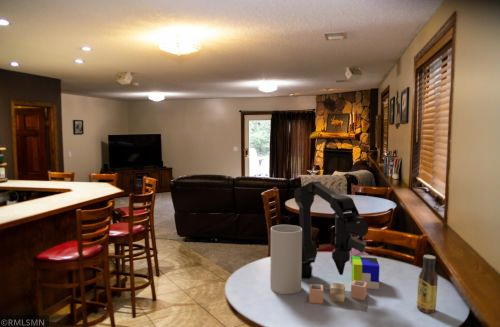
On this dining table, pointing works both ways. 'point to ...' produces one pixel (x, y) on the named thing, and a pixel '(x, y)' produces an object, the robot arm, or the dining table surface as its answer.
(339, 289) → the plain block
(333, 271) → the dining table surface
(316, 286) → the labelled block left
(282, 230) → the cylinder vase
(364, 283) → the labelled block right
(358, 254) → the lily
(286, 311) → the dining table surface
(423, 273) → the sauce bottle
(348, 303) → the mat
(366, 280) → the puzzle toy
